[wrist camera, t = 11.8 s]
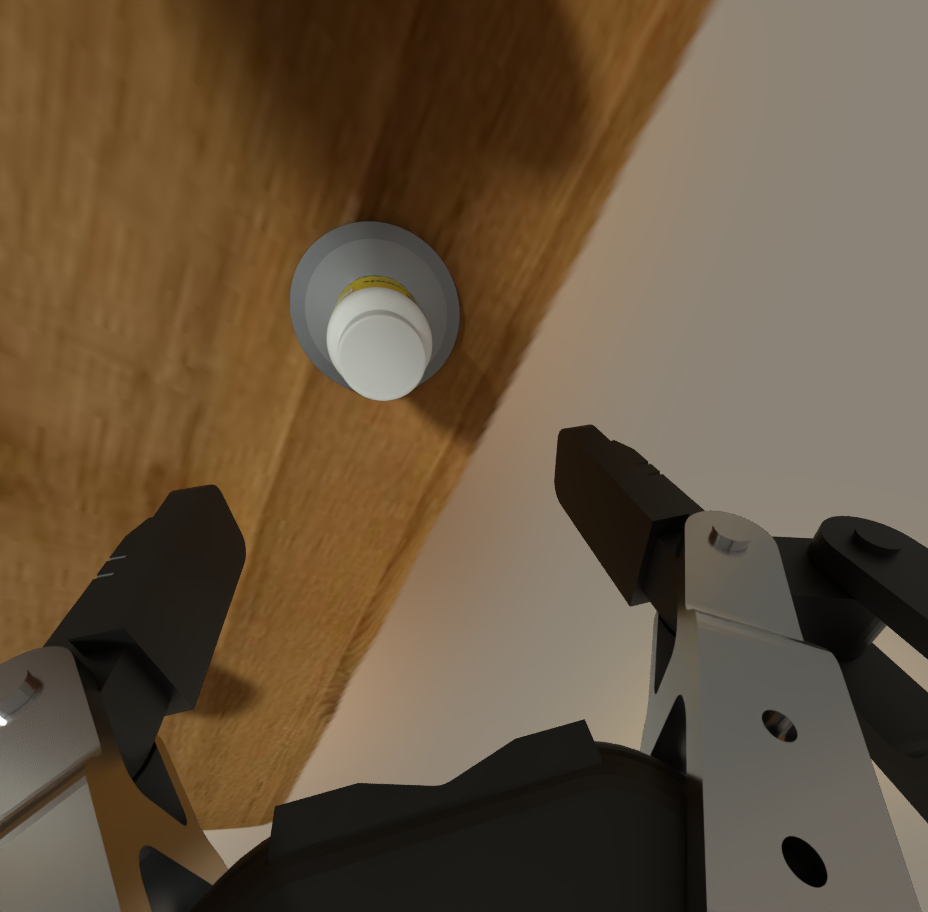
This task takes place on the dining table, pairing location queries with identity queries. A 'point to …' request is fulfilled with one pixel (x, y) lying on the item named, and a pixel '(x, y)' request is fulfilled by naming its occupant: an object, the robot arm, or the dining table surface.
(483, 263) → the dining table surface
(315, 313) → the slate coaster
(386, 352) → the supplement bottle
